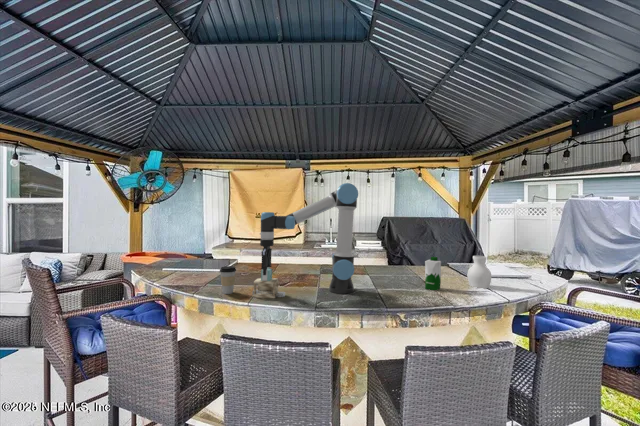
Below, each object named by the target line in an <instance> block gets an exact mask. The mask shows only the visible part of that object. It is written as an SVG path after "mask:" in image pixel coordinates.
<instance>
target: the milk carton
mask: <svg viewBox="0 0 640 426" xmlns="http://www.w3.org/2000/svg"><path fill="white" fill-rule="evenodd" d="M424 267H425V268H424V269H425V270H424V271H425V272H424V274H425V275H424V277H425V278H424V280H425V281H424V282H425V283H424V284H425V285H424V289H425V290H429V289H430V290H431V291H434V290H437V291H439V290H440V289H441V283H442V279H441V276H442V275H441V274H442V268H441V267H442V260H438V257H436V256H431V257H430V259H427V260H425V261H424ZM438 289H439V290H438Z"/></svg>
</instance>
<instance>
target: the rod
mask: <svg viewBox="0 0 640 426" xmlns="http://www.w3.org/2000/svg"><path fill="white" fill-rule="evenodd" d="M256 294H273V291H264V290H258V289H256ZM252 295H253V296H254V289H253V290H252ZM285 296H286V291H278V292H277V291H275V298H276V297H277V298H285Z"/></svg>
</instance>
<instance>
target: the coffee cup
mask: <svg viewBox="0 0 640 426" xmlns="http://www.w3.org/2000/svg"><path fill="white" fill-rule="evenodd" d="M236 271H237V268H236V267H235V266H233V265H228V266H227V265H226V266H221V267H220V269H219V273H220V282H221V290H222V294H224V295H230V294H234V288H235V283H236V282H235V280H236Z"/></svg>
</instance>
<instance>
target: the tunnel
mask: <svg viewBox="0 0 640 426" xmlns="http://www.w3.org/2000/svg"><path fill="white" fill-rule="evenodd" d="M253 290H254V295H253V298H258V299H259V298H261V299H275V298H276V297H275V291H277V292H279V278H278V277H277V278H273V277H272V279H271V280H270V281H261V277H258V278H256V279H255V280H254V281H253ZM256 290H264V291H273V294H256Z"/></svg>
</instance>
